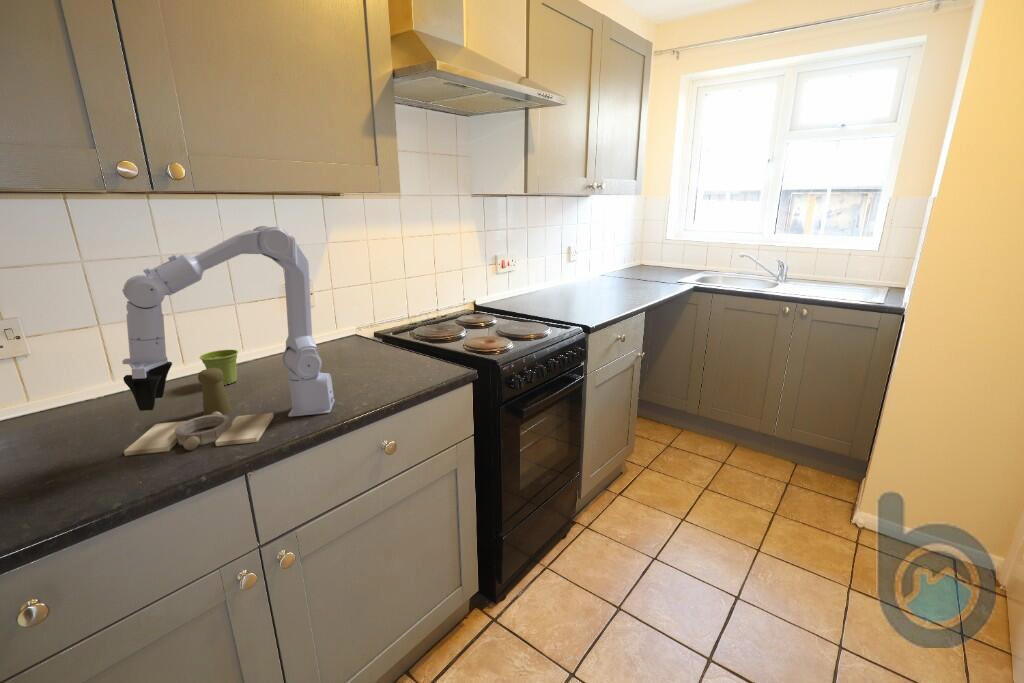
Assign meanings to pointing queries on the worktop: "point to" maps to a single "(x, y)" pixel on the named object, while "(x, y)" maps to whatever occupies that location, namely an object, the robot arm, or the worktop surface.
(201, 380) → the cork
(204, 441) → the hinge base
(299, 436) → the worktop surface
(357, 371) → the worktop surface
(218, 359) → the plant pot
